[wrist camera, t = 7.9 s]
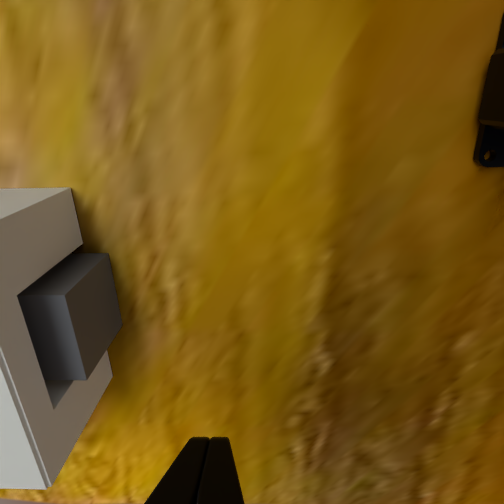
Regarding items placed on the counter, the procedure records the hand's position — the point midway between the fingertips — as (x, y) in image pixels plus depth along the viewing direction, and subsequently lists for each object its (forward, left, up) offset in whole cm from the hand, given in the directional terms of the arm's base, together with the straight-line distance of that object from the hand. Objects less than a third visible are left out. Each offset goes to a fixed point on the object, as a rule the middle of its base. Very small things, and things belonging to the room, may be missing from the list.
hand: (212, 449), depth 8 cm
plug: (+10, +3, -12) cm, 16 cm away
